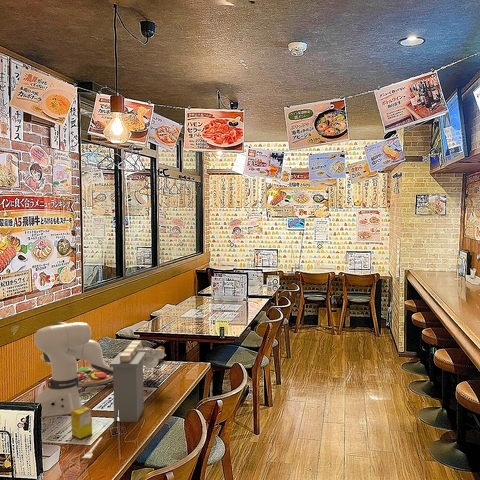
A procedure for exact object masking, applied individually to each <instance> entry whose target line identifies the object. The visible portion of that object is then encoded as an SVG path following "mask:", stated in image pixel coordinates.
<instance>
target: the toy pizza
mask: <svg viewBox="0 0 480 480" xmlns="http://www.w3.org/2000/svg"><path fill="white" fill-rule="evenodd" d="M77 376H78V379H79V385H78V388H79V387H80V388H81V387H82V388H84V387H85V388H86V387H88V388H89V387H96V386H100V385H101V386H102V385H105V384H108V383H111V382H113V375H110V374H107V373H104V372H102V371H99V370H96V369H94V368H92V367H91V368H90V367H88V366H83V367H79V368H77Z"/></svg>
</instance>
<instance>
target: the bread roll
mask: <svg viewBox="0 0 480 480" xmlns="http://www.w3.org/2000/svg"><path fill="white" fill-rule="evenodd" d="M156 349H163V350H164V352H165V351H166V349H165V347H164V346H163V345H160V346H158V347H157V348H156ZM163 360H164V358H161V359H159V361H158V363H160V362H162V361H163Z"/></svg>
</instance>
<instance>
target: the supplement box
mask: <svg viewBox="0 0 480 480" xmlns="http://www.w3.org/2000/svg"><path fill="white" fill-rule="evenodd" d="M92 415H93V414H92V409H91V408H90V407H86V406H84V405H83V406H82V405H81V407H80V408H77V409H74V410H71V414H70V416H71V417H70V418H71V420H70V421H71V436H72V438H74V439H76V440H78V441H82V440H83V439H84V440H85V439H87V438H89V437H92V436H93V417H92Z"/></svg>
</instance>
